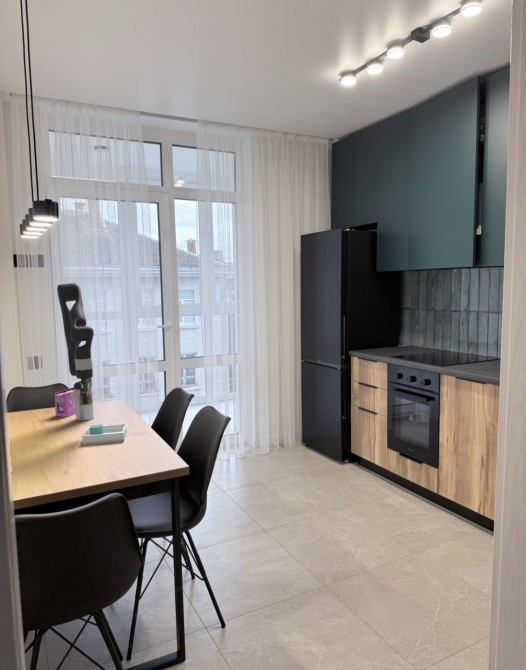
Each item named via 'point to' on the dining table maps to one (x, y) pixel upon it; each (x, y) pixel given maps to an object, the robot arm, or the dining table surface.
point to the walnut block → (89, 398)
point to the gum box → (65, 403)
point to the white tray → (106, 434)
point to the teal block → (96, 429)
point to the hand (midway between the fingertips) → (86, 402)
